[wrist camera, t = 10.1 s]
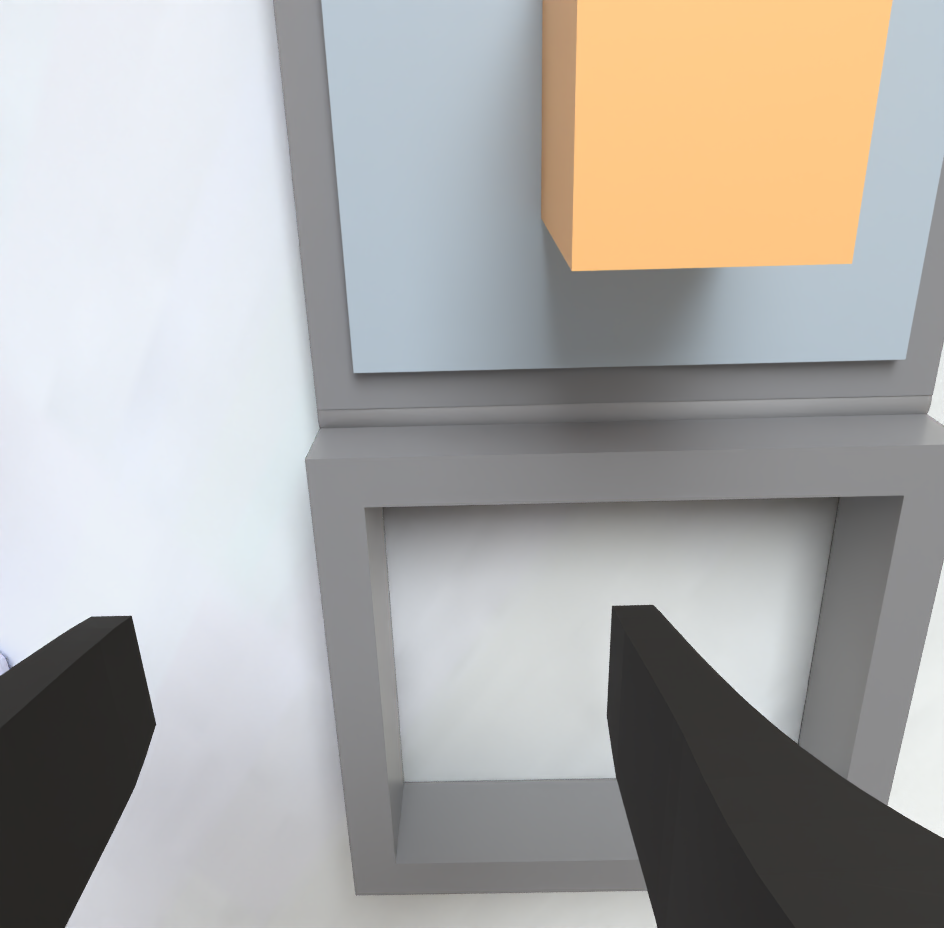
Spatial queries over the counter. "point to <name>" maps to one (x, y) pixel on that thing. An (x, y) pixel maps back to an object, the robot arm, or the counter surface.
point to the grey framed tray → (590, 399)
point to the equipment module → (707, 130)
